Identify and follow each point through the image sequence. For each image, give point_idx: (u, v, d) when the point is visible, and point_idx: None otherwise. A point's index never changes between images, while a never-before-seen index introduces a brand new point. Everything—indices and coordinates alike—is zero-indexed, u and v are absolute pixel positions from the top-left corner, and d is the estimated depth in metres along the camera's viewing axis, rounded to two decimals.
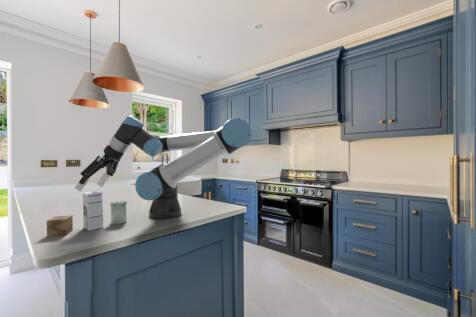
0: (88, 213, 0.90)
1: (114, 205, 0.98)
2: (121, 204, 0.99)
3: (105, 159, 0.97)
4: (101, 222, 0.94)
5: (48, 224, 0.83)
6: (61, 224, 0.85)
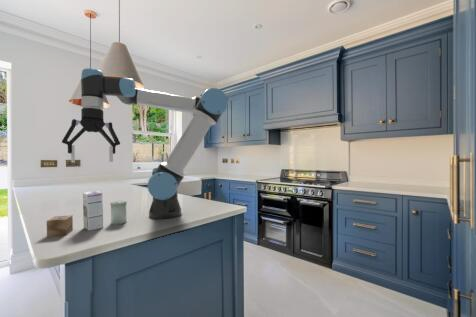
0: (88, 213, 0.90)
1: (114, 205, 0.98)
2: (121, 204, 0.99)
3: (81, 121, 0.90)
4: (101, 222, 0.94)
5: (48, 224, 0.83)
6: (61, 224, 0.85)
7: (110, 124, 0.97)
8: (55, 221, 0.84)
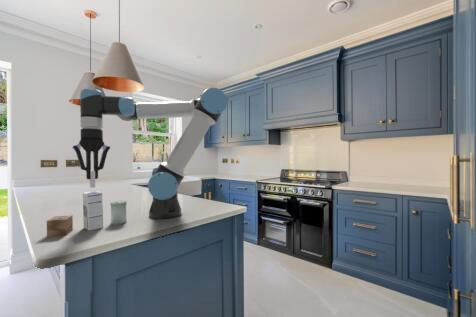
0: (88, 213, 0.90)
1: (114, 205, 0.98)
2: (121, 204, 0.99)
3: (80, 143, 0.90)
4: (101, 222, 0.94)
5: (48, 224, 0.83)
6: (61, 224, 0.85)
7: (107, 148, 0.96)
8: (55, 221, 0.84)
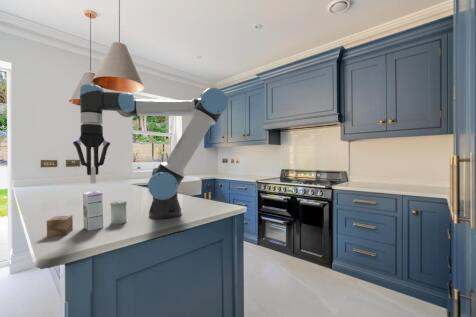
0: (88, 213, 0.90)
1: (114, 205, 0.98)
2: (121, 204, 0.99)
3: (80, 139, 0.90)
4: (101, 222, 0.94)
5: (48, 224, 0.83)
6: (61, 224, 0.85)
7: (108, 144, 0.96)
8: (55, 221, 0.84)
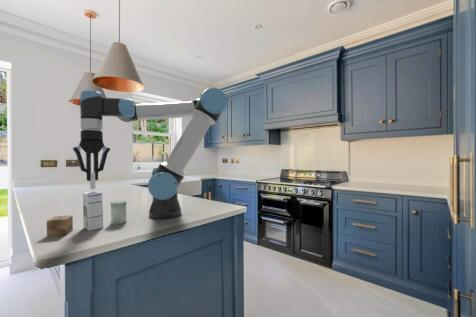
0: (88, 213, 0.90)
1: (114, 205, 0.98)
2: (121, 204, 0.99)
3: (80, 145, 0.90)
4: (101, 222, 0.94)
5: (48, 224, 0.83)
6: (61, 224, 0.85)
7: (108, 149, 0.96)
8: (55, 221, 0.84)
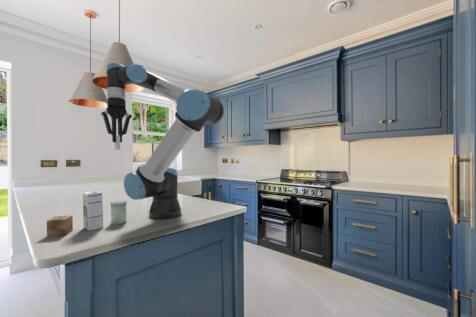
0: (88, 213, 0.90)
1: (114, 205, 0.98)
2: (121, 204, 0.99)
3: (107, 110, 1.04)
4: (101, 222, 0.94)
5: (48, 224, 0.83)
6: (61, 224, 0.85)
7: (130, 116, 1.10)
8: (55, 221, 0.84)
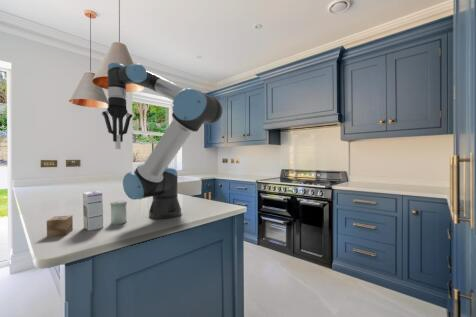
0: (88, 213, 0.90)
1: (114, 205, 0.98)
2: (121, 204, 0.99)
3: (108, 110, 1.05)
4: (101, 222, 0.94)
5: (48, 224, 0.83)
6: (61, 224, 0.85)
7: (130, 115, 1.11)
8: (55, 221, 0.84)
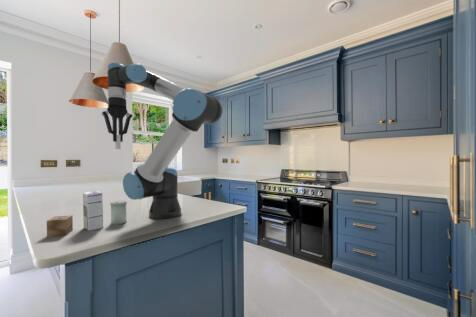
0: (88, 213, 0.90)
1: (114, 205, 0.98)
2: (121, 204, 0.99)
3: (108, 110, 1.05)
4: (101, 222, 0.94)
5: (48, 224, 0.83)
6: (61, 224, 0.85)
7: (130, 115, 1.11)
8: (55, 221, 0.84)
